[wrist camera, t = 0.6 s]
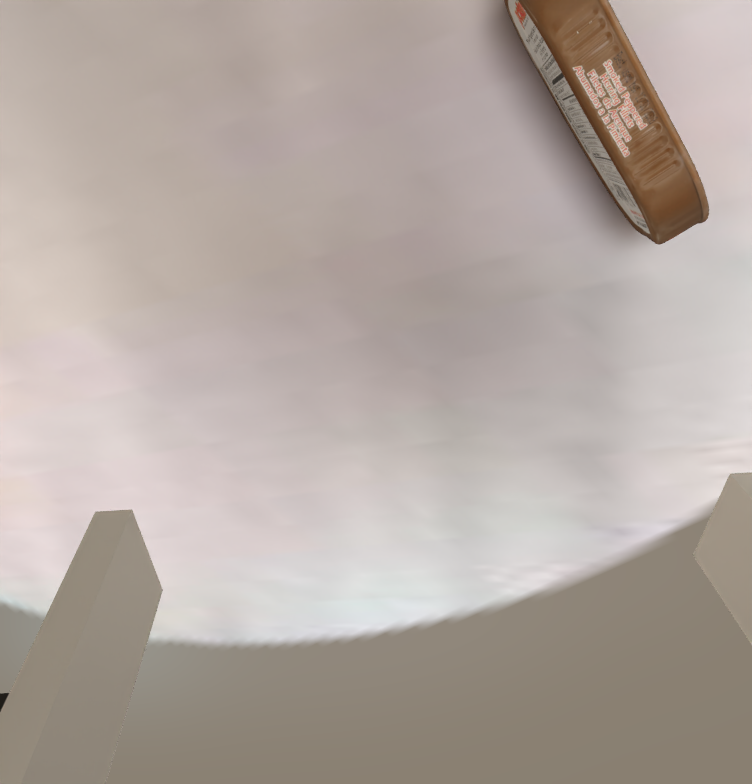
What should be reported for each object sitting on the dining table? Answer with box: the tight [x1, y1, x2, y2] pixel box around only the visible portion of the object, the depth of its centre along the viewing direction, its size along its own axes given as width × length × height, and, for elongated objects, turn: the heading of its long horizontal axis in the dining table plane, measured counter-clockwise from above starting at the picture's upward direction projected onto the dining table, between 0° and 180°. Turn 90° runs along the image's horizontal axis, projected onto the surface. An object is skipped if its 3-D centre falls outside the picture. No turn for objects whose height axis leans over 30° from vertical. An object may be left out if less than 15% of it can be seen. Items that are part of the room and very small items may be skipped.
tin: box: [505, 0, 709, 244], centre depth 27 cm, size 15×3×8 cm, turn 37°
